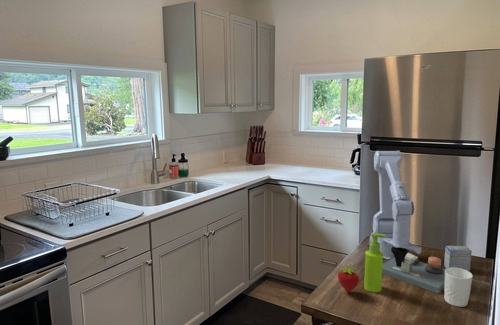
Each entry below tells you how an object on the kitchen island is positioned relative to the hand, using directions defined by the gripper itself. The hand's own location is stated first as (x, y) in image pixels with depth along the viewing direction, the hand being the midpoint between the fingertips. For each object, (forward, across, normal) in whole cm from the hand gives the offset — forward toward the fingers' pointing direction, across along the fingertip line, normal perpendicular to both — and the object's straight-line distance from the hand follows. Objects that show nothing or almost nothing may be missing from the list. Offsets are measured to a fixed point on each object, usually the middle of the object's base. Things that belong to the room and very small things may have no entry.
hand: (399, 265), depth 142 cm
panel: (+3, +5, +4) cm, 7 cm away
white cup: (+4, +22, -5) cm, 22 cm away
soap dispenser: (+4, -1, -16) cm, 16 cm away
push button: (-1, +10, +8) cm, 13 cm away
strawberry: (+4, -6, -25) cm, 26 cm away
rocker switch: (+1, 0, +9) cm, 9 cm away
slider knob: (+1, +3, 0) cm, 3 cm away
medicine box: (+4, +14, +20) cm, 25 cm away
